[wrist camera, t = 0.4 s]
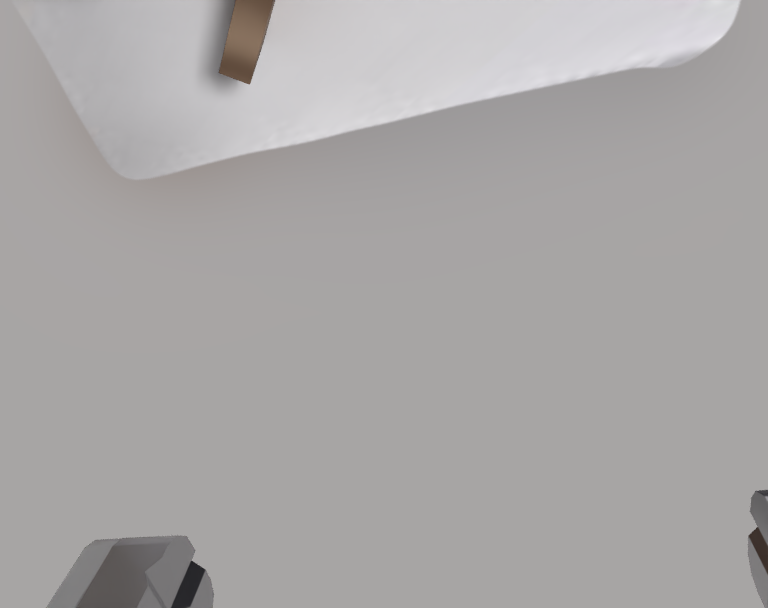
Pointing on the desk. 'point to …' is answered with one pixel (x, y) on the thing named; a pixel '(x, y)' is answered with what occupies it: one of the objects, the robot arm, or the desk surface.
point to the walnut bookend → (245, 38)
